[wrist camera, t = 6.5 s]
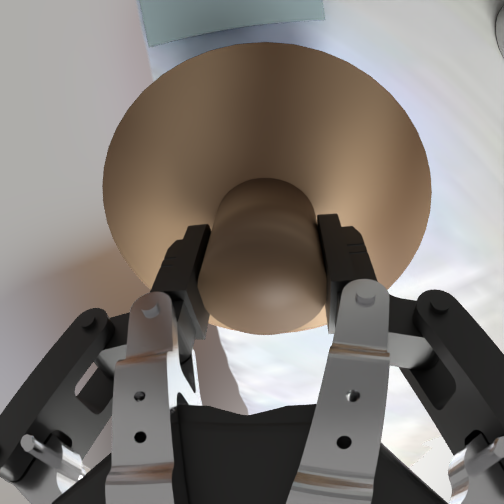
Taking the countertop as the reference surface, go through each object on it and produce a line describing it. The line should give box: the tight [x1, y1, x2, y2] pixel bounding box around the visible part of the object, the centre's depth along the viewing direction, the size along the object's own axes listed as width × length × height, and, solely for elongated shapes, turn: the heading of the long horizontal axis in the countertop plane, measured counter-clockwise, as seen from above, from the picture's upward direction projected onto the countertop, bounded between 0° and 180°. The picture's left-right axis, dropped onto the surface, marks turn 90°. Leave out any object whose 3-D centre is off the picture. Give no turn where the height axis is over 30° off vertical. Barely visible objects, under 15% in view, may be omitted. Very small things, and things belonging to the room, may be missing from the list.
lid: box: [103, 42, 432, 335], centre depth 12 cm, size 14×14×5 cm
